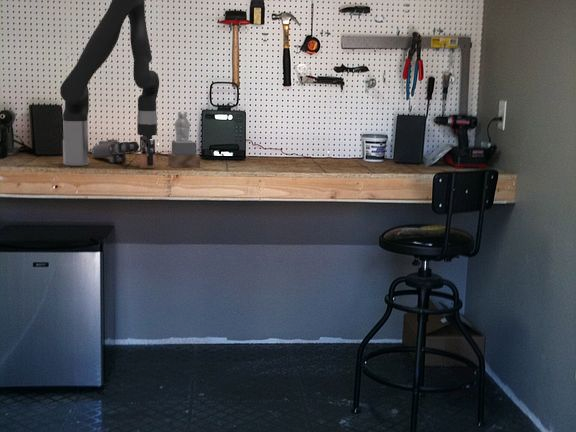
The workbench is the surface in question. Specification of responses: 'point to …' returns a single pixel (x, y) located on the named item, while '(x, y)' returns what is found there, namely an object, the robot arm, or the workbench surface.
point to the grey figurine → (182, 127)
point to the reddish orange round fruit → (144, 161)
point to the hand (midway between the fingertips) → (147, 164)
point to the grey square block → (183, 148)
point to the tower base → (183, 161)
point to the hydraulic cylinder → (114, 150)
